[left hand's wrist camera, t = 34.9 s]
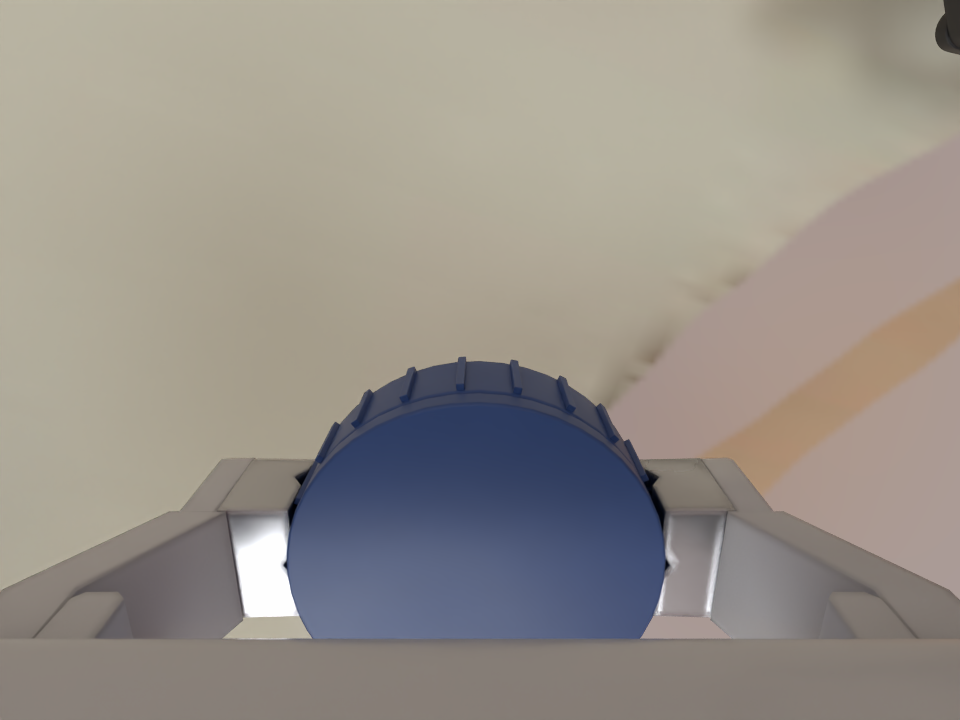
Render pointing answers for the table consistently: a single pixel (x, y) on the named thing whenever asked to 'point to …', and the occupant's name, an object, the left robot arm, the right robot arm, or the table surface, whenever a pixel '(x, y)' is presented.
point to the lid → (475, 515)
